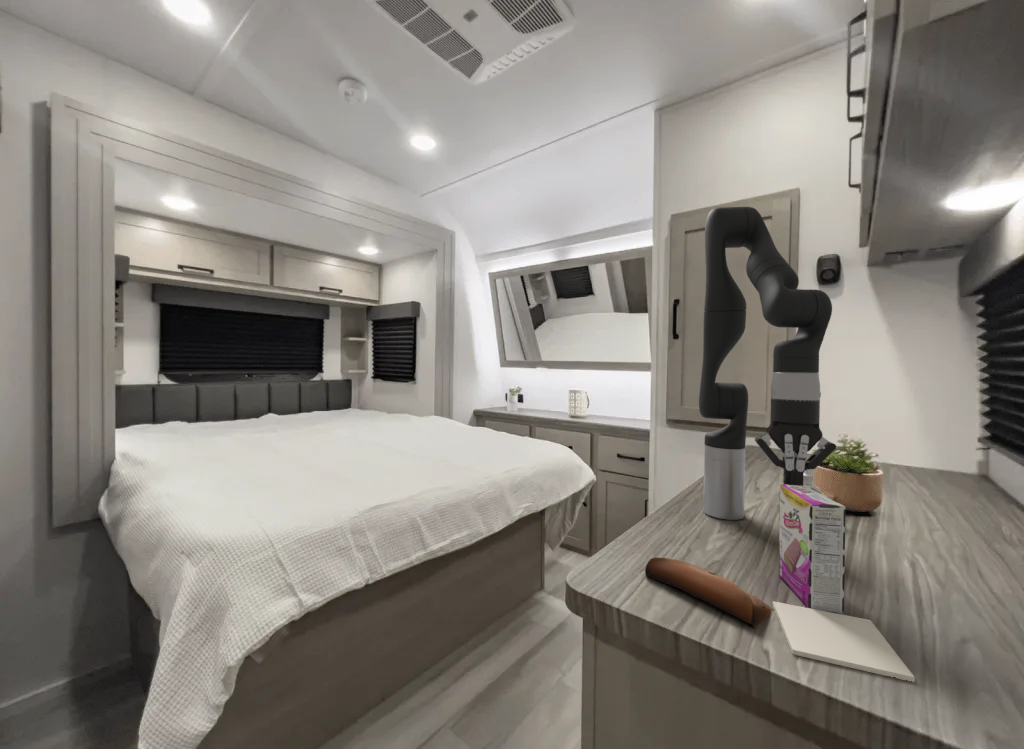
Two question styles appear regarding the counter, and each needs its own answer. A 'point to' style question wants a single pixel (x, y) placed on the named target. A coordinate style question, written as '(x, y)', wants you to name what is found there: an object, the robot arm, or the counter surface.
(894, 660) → the board
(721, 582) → the sunglasses case
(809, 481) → the eye dropper bottle
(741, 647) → the counter surface
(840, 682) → the counter surface
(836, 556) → the candy bar box
